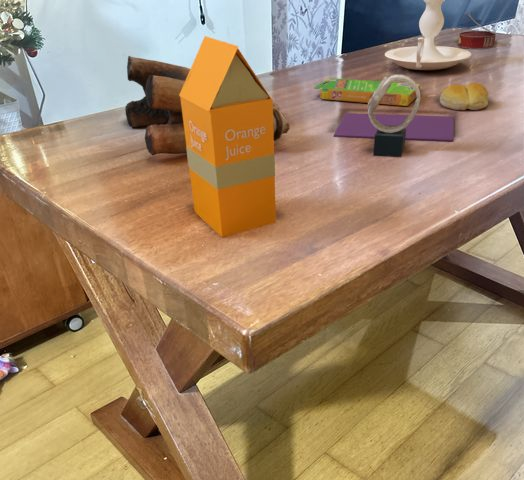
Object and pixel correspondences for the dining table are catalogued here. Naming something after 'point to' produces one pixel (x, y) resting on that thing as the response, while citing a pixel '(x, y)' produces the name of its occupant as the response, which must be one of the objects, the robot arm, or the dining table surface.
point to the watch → (388, 136)
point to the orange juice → (229, 140)
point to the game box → (366, 91)
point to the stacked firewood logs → (168, 106)
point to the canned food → (476, 38)
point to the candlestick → (428, 44)
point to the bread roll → (465, 97)
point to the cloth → (416, 130)
